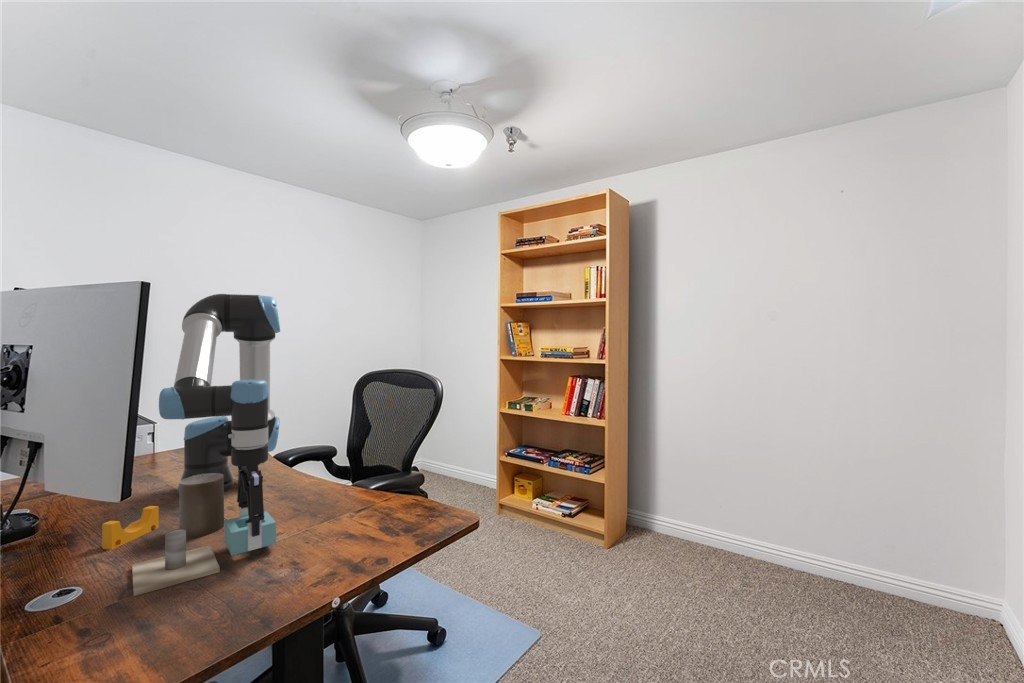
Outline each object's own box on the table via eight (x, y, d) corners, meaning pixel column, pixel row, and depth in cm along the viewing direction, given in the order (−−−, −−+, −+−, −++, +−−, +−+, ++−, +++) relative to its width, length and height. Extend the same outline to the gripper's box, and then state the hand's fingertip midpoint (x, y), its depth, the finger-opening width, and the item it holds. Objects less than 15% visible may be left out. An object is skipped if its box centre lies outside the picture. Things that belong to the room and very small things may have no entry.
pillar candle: (232, 527, 119) (232, 471, 119) (191, 542, 110) (191, 481, 110) (211, 521, 123) (211, 466, 124) (170, 534, 115) (170, 475, 115)
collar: (224, 541, 106) (224, 520, 106) (266, 530, 112) (266, 510, 112) (231, 555, 100) (231, 533, 100) (276, 543, 106) (276, 522, 106)
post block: (132, 569, 97) (132, 531, 97) (209, 549, 106) (209, 515, 106) (133, 596, 87) (133, 554, 87) (219, 572, 96) (219, 534, 96)
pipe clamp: (144, 530, 118) (144, 505, 118) (158, 531, 117) (158, 506, 118) (95, 551, 106) (95, 523, 106) (111, 552, 106) (111, 524, 106)
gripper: (223, 440, 112) (223, 530, 112) (240, 458, 95) (240, 564, 95) (257, 435, 116) (257, 522, 117) (279, 452, 100) (279, 553, 100)
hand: (250, 541), depth 106 cm, fingers closed on collar, 9 cm apart
